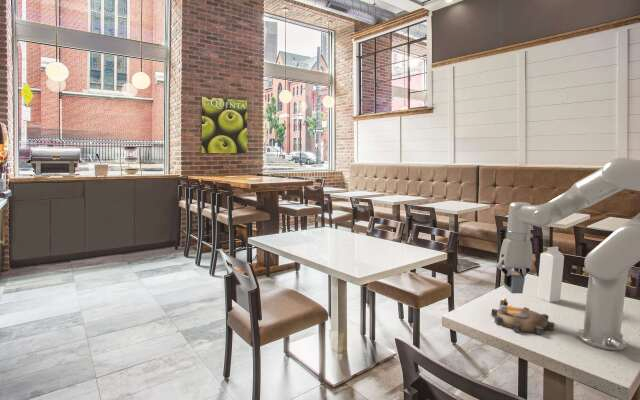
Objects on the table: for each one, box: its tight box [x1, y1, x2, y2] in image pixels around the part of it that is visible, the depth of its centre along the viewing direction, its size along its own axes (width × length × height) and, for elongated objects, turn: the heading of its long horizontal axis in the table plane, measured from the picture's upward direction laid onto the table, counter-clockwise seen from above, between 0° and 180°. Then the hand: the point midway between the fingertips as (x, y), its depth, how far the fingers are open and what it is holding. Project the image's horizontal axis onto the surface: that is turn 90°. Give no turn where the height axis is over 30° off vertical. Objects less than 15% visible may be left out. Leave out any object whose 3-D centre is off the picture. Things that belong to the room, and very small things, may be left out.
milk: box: [536, 246, 565, 303], centre depth 159 cm, size 6×6×22 cm
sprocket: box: [490, 304, 555, 335], centre depth 137 cm, size 20×20×4 cm
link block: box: [503, 270, 526, 294], centre depth 142 cm, size 6×4×6 cm, turn 2°
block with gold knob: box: [499, 298, 509, 306], centre depth 150 cm, size 2×2×4 cm
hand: (513, 285), depth 142 cm, fingers closed on link block, 3 cm apart
